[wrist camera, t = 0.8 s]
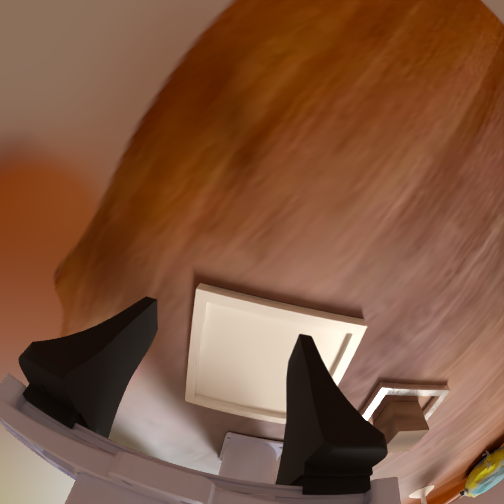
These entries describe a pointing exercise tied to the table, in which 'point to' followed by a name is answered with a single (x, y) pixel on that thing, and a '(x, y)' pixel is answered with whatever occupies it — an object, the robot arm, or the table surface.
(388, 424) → the walnut block
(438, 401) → the frame
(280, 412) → the tray
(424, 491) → the champagne flute
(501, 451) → the decorative bird
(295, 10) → the table surface
